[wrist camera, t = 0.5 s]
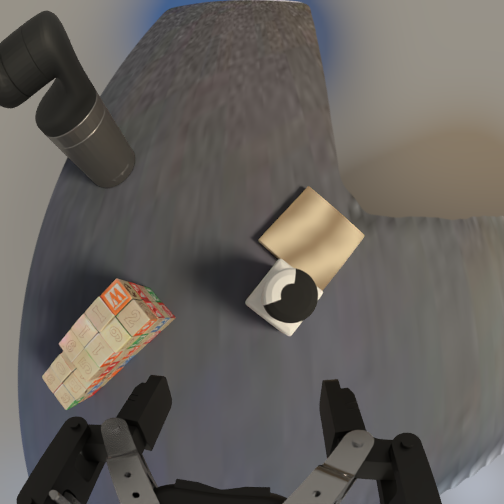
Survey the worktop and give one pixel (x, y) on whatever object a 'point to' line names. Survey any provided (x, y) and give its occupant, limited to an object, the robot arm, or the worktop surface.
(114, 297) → the stack of blocks
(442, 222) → the worktop surface
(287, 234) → the maple board
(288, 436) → the worktop surface
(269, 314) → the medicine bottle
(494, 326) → the worktop surface
